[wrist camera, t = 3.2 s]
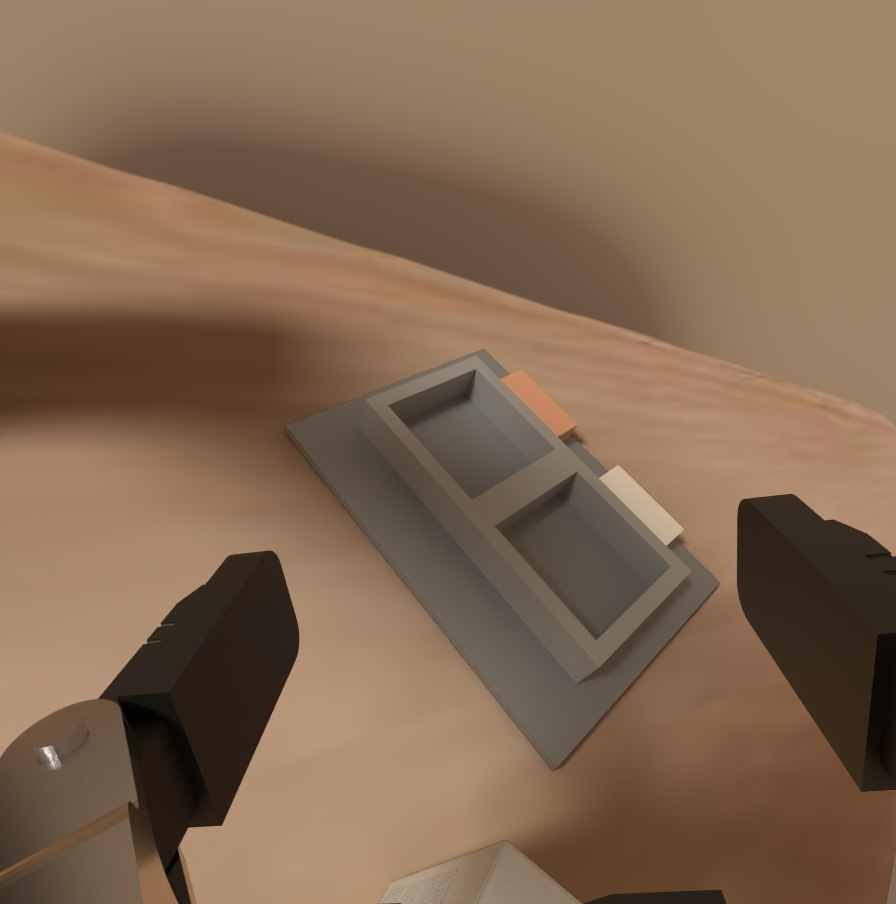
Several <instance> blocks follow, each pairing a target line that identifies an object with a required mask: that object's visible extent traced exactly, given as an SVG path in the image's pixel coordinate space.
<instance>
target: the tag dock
mask: <svg viewBox="0 0 896 904" xmlns="http://www.w3.org/2000/svg"><path fill="white" fill-rule="evenodd" d="M576 427H577V424H576V423H575V422H574V421H573V420H572V419H571V418H570V417H569V416H568V415H567V414H566V413H565V412H564V411H563V410H562V409H561V408H560V407H559V406H558V405H557V404H556V403H555V402H554V401H553V400H551V399H550V398H549V397H548V396H547V395H546V394H545V393H544V392H543V391H542V390H541V389H540V388H539V387H538V386H537V385H536V384H535V383H534V382H533V381H532V380H531V379H530V378H529V377H528V376H527V375H526V374H525V373H524V372H523V371H522V370H519V371H517V372H515V373H512V374H509V373H508V372H507V371H506V370H505V369H504V368H503V367H502V366H501V365H500V364H499V363H498V362H497V361H496V360H495V359H494V358H493V357H492V356H491V355H490V354H489V353H488V352H487V351H486V350H485V349H482V350H479V351H477V352H474V353H471V354H469V355H466V356H464V357H461V358H458V359H456V360H453V361H451V362H448V363H446V364H443V365H440V366H438V367H435V368H433V369H430V370H427V371H425V372H422V373H420V374H417V375H414V376H412V377H409V378H407V379H404V380H402V381H399V382H396V383H394V384H391V385H389V386H386V387H383V388H381V389H378V390H376V391H373V392H370V393H368V394H365V395H363V396H360V397H358V398H355V399H352V400H350V401H347V402H345V403H342V404H339V405H337V406H334V407H332V408H329V409H326V410H324V411H321V412H319V413H316V414H314V415H311V416H308V417H306V418H303V419H301V420H298V421H295V422H293V423H290V424H288V425H286V427H285V433H286V434H287V435H288V436H289V438H290V439H291V440H292V441H293V443H294V444H295V445H296V446H297V448H298V449H299V450H300V452H301V453H302V454H303V455H304V457H305V458H306V459H307V460H308V462H309V463H310V464H311V465H312V467H313V468H314V469H315V471H316V472H317V473H318V474H319V476H320V477H321V478H322V479H323V481H324V482H325V483H326V484H327V486H328V487H329V488H330V490H331V491H332V492H333V493H334V495H335V496H336V497H337V498H338V500H339V501H340V502H341V503H342V505H343V506H344V507H345V509H346V510H347V511H348V512H349V514H350V515H351V516H352V517H353V519H354V520H355V521H356V522H357V524H358V525H359V526H360V528H361V529H362V530H363V531H364V533H365V534H366V535H367V536H368V538H369V539H370V540H371V542H372V543H373V544H374V545H375V547H376V548H377V549H378V550H379V552H380V553H381V554H382V555H383V557H384V558H385V559H386V561H387V562H388V563H389V564H390V566H391V567H392V568H393V569H394V571H395V572H396V573H397V574H398V576H399V577H400V578H401V580H402V581H403V582H404V583H405V585H406V586H407V587H408V588H409V590H410V591H411V592H412V593H413V595H414V596H415V597H416V599H417V600H418V601H419V602H420V604H421V605H422V606H423V607H424V609H425V610H426V611H427V612H428V614H429V615H430V616H431V618H432V619H433V620H434V621H435V623H436V624H437V625H438V626H439V628H440V629H441V630H442V631H443V633H444V634H445V635H446V637H447V638H448V639H449V640H450V642H451V643H452V644H453V645H454V647H455V648H456V649H457V650H458V652H459V653H460V654H461V656H462V657H463V658H464V659H465V661H466V662H467V663H468V664H469V666H470V667H471V668H472V669H473V671H474V672H475V673H476V675H477V676H478V677H479V678H480V680H481V681H482V682H483V683H484V685H485V686H486V687H487V689H488V690H489V691H490V692H491V694H492V695H493V696H494V697H495V699H496V700H497V701H498V702H499V704H500V705H501V706H502V708H503V709H504V710H505V711H506V713H507V714H508V715H509V716H510V718H511V719H512V720H513V721H514V723H515V724H516V725H517V727H518V728H519V729H520V730H521V732H522V733H523V734H524V735H525V737H526V738H527V739H528V740H529V742H530V743H531V744H532V746H533V747H534V748H535V749H536V751H537V752H538V753H539V754H540V756H541V757H542V758H543V759H544V761H545V762H546V763H547V765H548V766H549V767H550V768H551V770H553V769H555V768H557V767H558V766H559V765H560V764H561V763H562V762H563V760H564V759H565V758H566V757H567V756H568V755H569V754H570V753H571V751H572V750H573V749H574V748H575V747H576V746H577V745H578V743H579V742H580V741H581V740H582V739H583V738H584V737H585V735H586V734H587V733H588V732H589V731H590V730H591V729H592V728H593V726H594V725H595V724H596V723H597V722H598V721H599V720H600V718H601V717H602V716H603V715H604V714H605V713H606V712H607V710H608V709H609V708H610V707H611V706H612V705H613V704H614V703H615V701H616V700H617V699H618V698H619V697H620V696H621V695H622V693H623V692H624V691H625V690H626V689H627V688H628V687H629V685H630V684H631V683H632V682H633V681H634V680H635V679H636V678H637V676H638V675H639V674H640V673H641V672H642V671H643V670H644V668H645V667H646V666H647V665H648V664H649V663H650V662H651V660H652V659H653V658H654V657H655V656H656V655H657V654H658V653H659V651H660V650H661V649H662V648H663V647H664V646H665V645H666V643H667V642H668V641H669V640H670V639H671V638H672V637H673V635H674V634H675V633H676V632H677V631H678V630H679V629H680V628H681V626H682V625H683V624H684V623H685V622H686V621H687V620H688V618H689V617H690V616H691V615H692V614H693V613H694V612H695V610H696V609H697V608H698V607H699V606H700V605H701V604H702V603H703V601H704V600H705V599H706V598H707V597H708V596H709V595H710V593H711V592H712V591H713V590H714V589H715V588H716V587H717V585H718V584H719V583H720V582H719V581H718V580H717V579H716V578H715V577H714V576H713V575H712V574H711V573H710V572H709V571H708V570H707V569H706V568H705V567H704V566H703V565H702V564H701V563H700V562H699V561H698V560H697V559H696V558H695V557H694V556H693V555H692V554H691V553H690V552H689V551H688V550H687V549H686V548H685V547H684V546H682V545H681V544H680V543H679V542H678V541H677V540H676V539H675V537H677V536H678V535H679V534H680V533H681V532H682V531H683V530H684V529H683V528H682V527H681V526H680V525H679V524H678V523H677V522H676V521H675V520H674V519H673V518H672V517H671V516H670V515H669V514H668V513H667V512H666V511H665V510H664V509H663V508H662V507H661V506H660V505H659V504H658V503H657V502H656V501H655V500H654V499H653V498H652V497H651V496H650V495H649V494H648V493H647V492H646V491H644V490H643V489H642V488H641V487H640V486H639V485H638V484H637V483H636V482H635V481H634V480H633V479H632V478H631V477H630V476H629V475H628V474H627V473H626V472H625V471H624V470H623V469H622V468H621V467H620V466H619V465H617V466H616V467H614V468H613V469H612V470H610V471H609V472H608V471H607V470H606V469H605V468H604V467H603V466H602V465H601V464H600V463H599V462H598V461H597V460H596V459H595V458H594V457H593V456H592V455H591V454H590V453H589V452H588V451H587V450H586V449H585V448H584V447H583V446H582V445H581V444H580V443H579V442H578V441H577V440H576V439H575V438H574V437H573V436H572V435H571V433H572V432H573V431H574V429H575V428H576Z"/></svg>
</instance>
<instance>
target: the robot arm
mask: <svg viewBox="0 0 896 904" xmlns="http://www.w3.org/2000/svg"><path fill="white" fill-rule="evenodd" d="M737 588H738V594H739V599H740V603H741V606H742V609H743V612H744V614H745V616H746V618H747V620H748V622H749V623H750V625H751V626H752V628H753V629H754V631H755V632H756V634H757V635H758V637H759V638H760V640H761V641H762V643H763V644H764V646H765V647H766V649H767V650H768V652H769V653H770V655H771V656H772V658H773V659H774V661H775V662H776V664H777V665H778V667H779V668H780V670H781V671H782V673H783V674H784V676H785V677H786V679H787V680H788V682H789V683H790V685H791V686H792V688H793V689H794V691H795V692H796V694H797V695H798V697H799V698H800V700H801V701H802V703H803V704H804V706H805V707H806V709H807V711H808V712H809V714H810V715H811V717H812V718H813V720H814V721H815V723H816V724H817V726H818V727H819V729H820V730H821V732H822V733H823V735H824V736H825V738H826V739H827V741H828V742H829V744H830V745H831V747H832V748H833V750H834V751H835V753H836V754H837V756H838V757H839V759H840V760H841V762H842V763H843V765H844V766H845V768H846V769H847V771H848V772H849V774H850V775H851V777H852V778H853V780H854V781H855V783H856V784H857V786H858V787H859V789H860V790H861V792H863V791H880V790H896V556H895V557H892V556H891V552H889V551H888V550H887V549H886V548H884V547H883V546H882V545H881V544H879V543H878V542H877V541H876V540H874V539H873V538H872V537H871V536H869V535H868V534H867V533H864V532H862V531H859V530H857V529H855V528H852V527H850V526H848V525H845V524H843V523H841V522H838V521H836V520H826V521H824V520H823V519H822V518H821V517H820V516H819V515H817V514H816V513H815V512H814V511H813V510H812V509H811V508H809V507H808V506H807V505H806V504H805V503H804V502H802V501H801V500H800V499H799V498H798V497H797V496H795V495H793V494H785V495H776V496H767V497H758V498H749V499H743V500H742V501H741V502H740V504H739V507H738V516H737ZM298 649H299V628H298V623H297V619H296V615H295V612H294V608H293V605H292V602H291V598H290V595H289V591H288V588H287V584H286V581H285V577H284V574H283V570H282V567H281V563H280V561H279V558H278V557H277V555H276V554H275V553H274V552H273V551H262V552H253V553H244V554H235V555H230V556H228V557H227V558H226V559H225V560H224V562H223V563H222V564H221V566H220V567H219V568H218V569H217V571H216V572H215V573H214V574H213V576H212V577H211V578H210V579H209V581H208V582H207V583H206V584H205V585H202V586H201V587H199V588H198V589H196V590H195V591H194V592H192V593H191V594H189V595H188V596H187V597H185V598H184V599H183V600H181V601H180V602H178V603H177V604H176V606H175V607H174V608H173V609H172V610H171V612H170V613H169V614H168V615H167V616H166V618H165V619H164V620H163V621H162V622H161V627H157V628H156V630H155V631H154V632H153V633H152V634H151V636H150V637H149V638H148V639H147V644H143V645H142V647H141V648H140V649H139V650H138V651H137V653H136V654H135V655H134V656H133V657H132V659H131V660H130V661H129V662H128V663H127V665H126V666H125V667H124V668H123V669H122V671H121V672H120V673H119V674H118V675H117V677H116V678H115V679H114V680H113V681H112V683H111V684H110V685H109V686H108V687H107V689H106V690H105V691H104V692H103V694H102V695H101V696H100V697H99V698H98V699H93V700H87V701H82V702H78V703H75V704H72V705H69V706H67V707H64V708H62V709H60V710H58V711H56V712H54V713H52V714H50V715H48V716H46V717H44V718H43V719H41V720H39V721H38V722H36V723H35V724H34V725H32V726H31V727H29V728H28V729H27V730H25V731H24V732H23V733H22V734H21V735H19V736H18V737H17V738H16V739H15V740H14V741H13V742H12V743H11V744H10V745H9V747H8V748H7V749H6V750H5V752H4V753H3V754H2V756H1V757H0V904H196V900H195V896H194V892H193V888H192V884H191V880H190V876H189V872H188V868H187V864H186V860H185V858H184V855H183V853H182V851H181V848H180V846H179V845H180V843H181V841H182V839H183V837H184V835H185V833H186V831H187V829H188V828H189V827H206V826H222V824H223V822H224V820H225V817H226V815H227V813H228V811H229V808H230V806H231V804H232V802H233V799H234V797H235V795H236V793H237V790H238V788H239V786H240V784H241V781H242V779H243V777H244V775H245V772H246V770H247V768H248V766H249V763H250V761H251V759H252V757H253V755H254V752H255V750H256V748H257V746H258V743H259V741H260V739H261V737H262V734H263V732H264V730H265V728H266V725H267V723H268V721H269V719H270V716H271V714H272V712H273V710H274V707H275V705H276V703H277V701H278V698H279V696H280V694H281V692H282V690H283V687H284V685H285V683H286V681H287V678H288V676H289V674H290V672H291V669H292V667H293V665H294V663H295V660H296V658H297V654H298ZM387 904H401V903H387ZM584 904H726V902H725V899H724V896H723V893H722V890H705V891H680V892H656V893H632V894H611V895H608V896H605V897H602V898H599V899H596V900H593V901H590V902H587V903H584ZM887 904H896V853H895V859H894V864H893V870H892V876H891V882H890V887H889V893H888V899H887Z"/></svg>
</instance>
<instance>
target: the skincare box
mask: <svg viewBox="0 0 896 904" xmlns="http://www.w3.org/2000/svg"><path fill="white" fill-rule="evenodd" d="M387 903H401V904H582V903H580V902H579V901H578V900H577V899H576V898H575V897H573V896H572V895H571V894H570V893H569V892H568V891H566V890H565V889H564V888H563V887H562V886H560V885H559V884H558V883H557V882H556V881H555V880H554V879H552V878H551V877H550V876H549V875H548V874H547V873H546V872H544V871H543V870H542V869H541V868H540V867H538V866H537V865H536V864H535V863H534V862H533V861H531V860H530V859H529V858H528V857H527V856H525V855H524V854H523V853H522V852H521V851H520V850H518V849H517V848H516V847H515V846H514V845H512V844H511V843H510V842H509V841H507V840H503V841H500V842H497V843H495V844H493V845H490V846H487V847H485V848H482V849H479V850H477V851H474V852H472V853H469V854H466V855H463V856H461V857H458V858H455V859H453V860H450V861H447V862H444V863H441V864H439V865H436V866H433V867H431V868H428V869H425V870H422V871H420V872H417V873H414V874H411V875H409V876H405V877H403V878H400V879H397V880H395V881H393V882H392V883H391V884H390V886H389V888H388V890H387V891H386V893H385V895H384V897H383V898H382V900H381V902H380V904H387Z"/></svg>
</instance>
